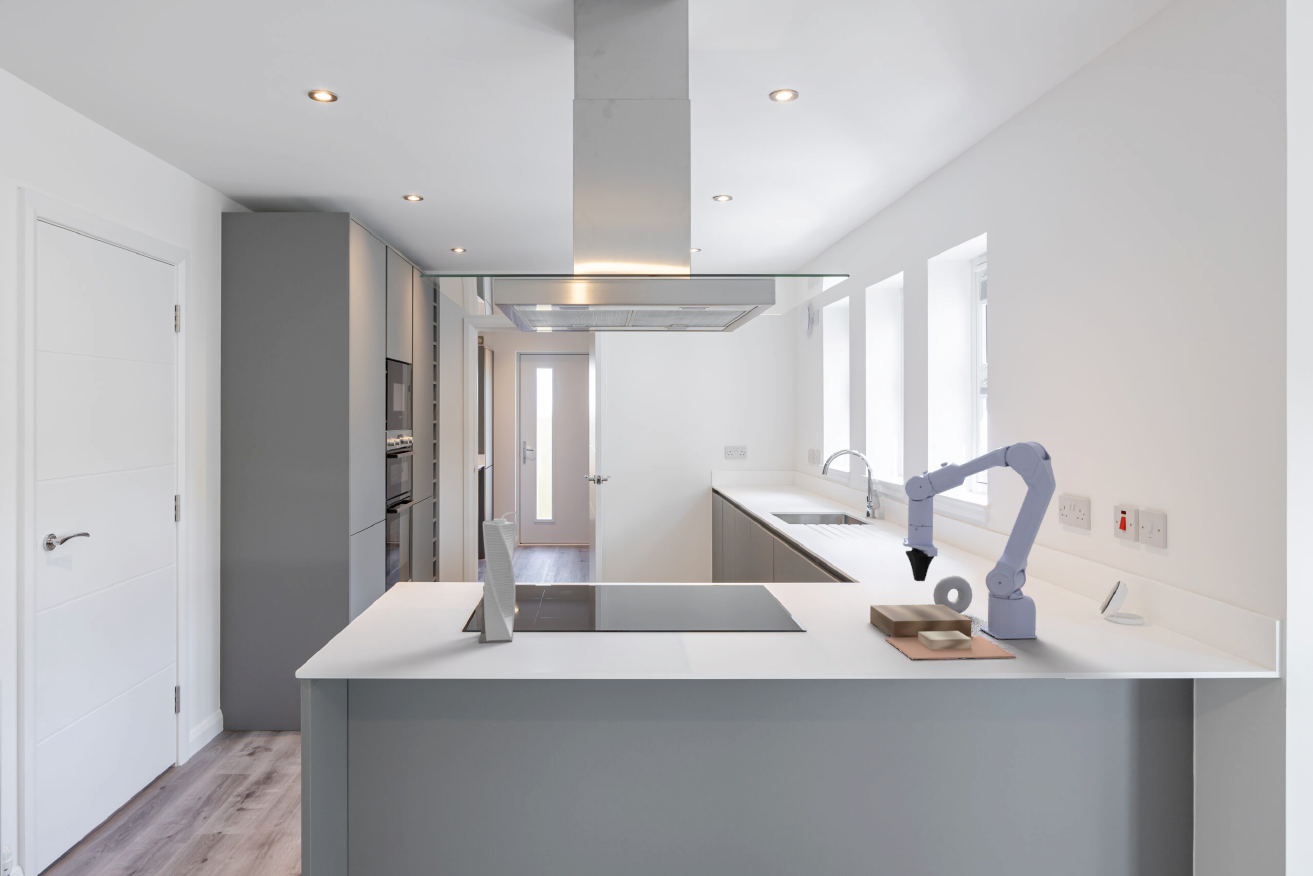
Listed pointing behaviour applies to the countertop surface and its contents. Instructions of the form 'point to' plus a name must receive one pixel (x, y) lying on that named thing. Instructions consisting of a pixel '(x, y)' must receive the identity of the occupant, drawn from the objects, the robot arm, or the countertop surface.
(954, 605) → the donut
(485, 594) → the skyscraper
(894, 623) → the block
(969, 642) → the cream rectangular block
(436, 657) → the countertop surface
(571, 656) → the countertop surface
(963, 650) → the mat
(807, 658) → the countertop surface
